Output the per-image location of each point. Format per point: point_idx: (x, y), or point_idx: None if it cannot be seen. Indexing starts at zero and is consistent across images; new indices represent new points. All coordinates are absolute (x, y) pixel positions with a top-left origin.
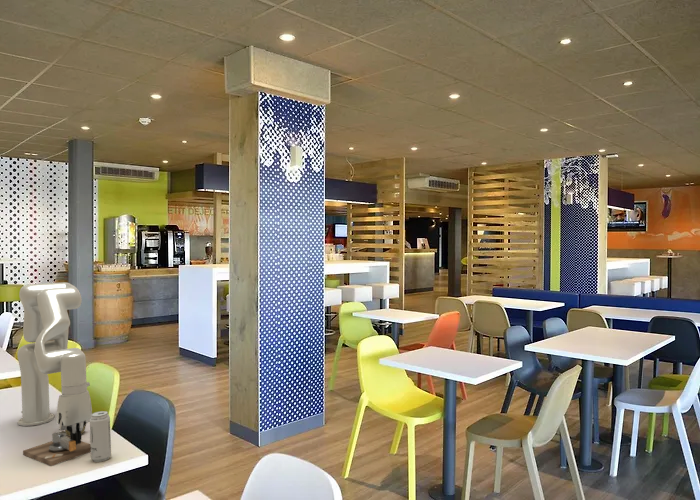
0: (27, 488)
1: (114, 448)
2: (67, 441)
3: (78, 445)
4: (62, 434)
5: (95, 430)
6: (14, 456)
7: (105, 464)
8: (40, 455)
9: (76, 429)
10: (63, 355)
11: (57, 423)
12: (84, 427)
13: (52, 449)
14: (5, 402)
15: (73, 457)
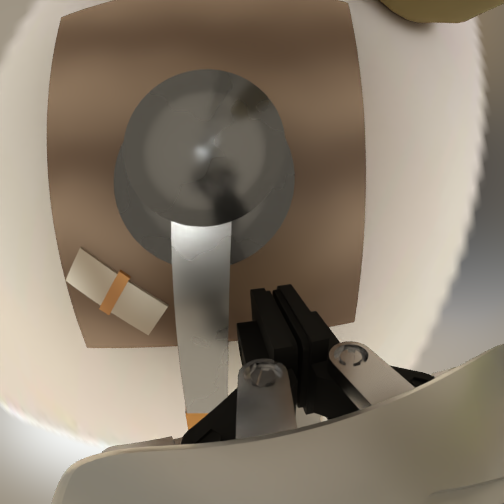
0: (29, 417)
1: (383, 351)
2: (184, 391)
3: (311, 231)
4: (213, 224)
5: None
6: (46, 22)
7: None
8: (62, 196)
9: (316, 395)
10: None
11: (70, 478)
12: (443, 21)
13: (122, 217)
14: None
15: None
